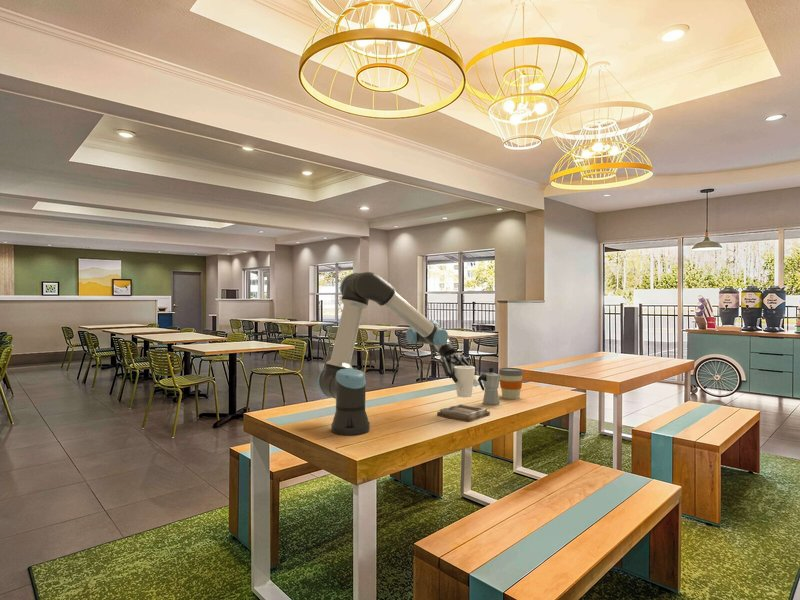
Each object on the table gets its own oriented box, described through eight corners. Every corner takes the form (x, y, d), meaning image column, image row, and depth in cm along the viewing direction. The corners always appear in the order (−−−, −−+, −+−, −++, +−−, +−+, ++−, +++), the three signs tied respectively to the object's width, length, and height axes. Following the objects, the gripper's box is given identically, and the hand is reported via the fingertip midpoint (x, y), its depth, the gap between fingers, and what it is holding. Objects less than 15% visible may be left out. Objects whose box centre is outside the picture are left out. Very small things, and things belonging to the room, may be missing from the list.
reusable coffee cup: (494, 396, 246) (494, 369, 247) (507, 393, 255) (507, 367, 255) (514, 400, 237) (514, 371, 237) (527, 397, 246) (527, 369, 246)
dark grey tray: (469, 421, 194) (469, 415, 194) (437, 415, 205) (437, 409, 205) (489, 414, 206) (490, 408, 206) (458, 409, 218) (458, 403, 218)
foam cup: (450, 396, 204) (450, 367, 204) (458, 393, 212) (458, 365, 212) (471, 398, 200) (471, 369, 200) (477, 395, 208) (477, 366, 208)
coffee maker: (494, 400, 237) (494, 365, 238) (506, 403, 230) (506, 367, 230) (472, 403, 230) (472, 367, 230) (484, 407, 222) (484, 370, 222)
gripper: (457, 351, 225) (481, 388, 212) (423, 354, 211) (447, 394, 199) (465, 341, 221) (490, 378, 208) (431, 343, 207) (456, 383, 195)
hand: (469, 386), depth 203 cm, fingers closed on foam cup, 9 cm apart
